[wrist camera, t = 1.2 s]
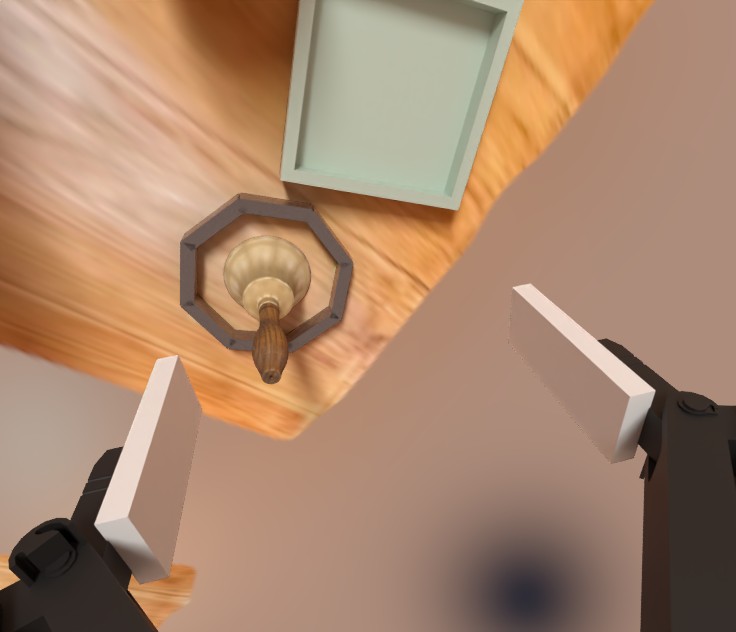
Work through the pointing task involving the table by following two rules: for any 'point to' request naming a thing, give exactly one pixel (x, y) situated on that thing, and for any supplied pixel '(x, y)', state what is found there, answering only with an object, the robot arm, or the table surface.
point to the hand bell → (268, 294)
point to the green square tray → (393, 94)
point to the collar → (271, 209)
